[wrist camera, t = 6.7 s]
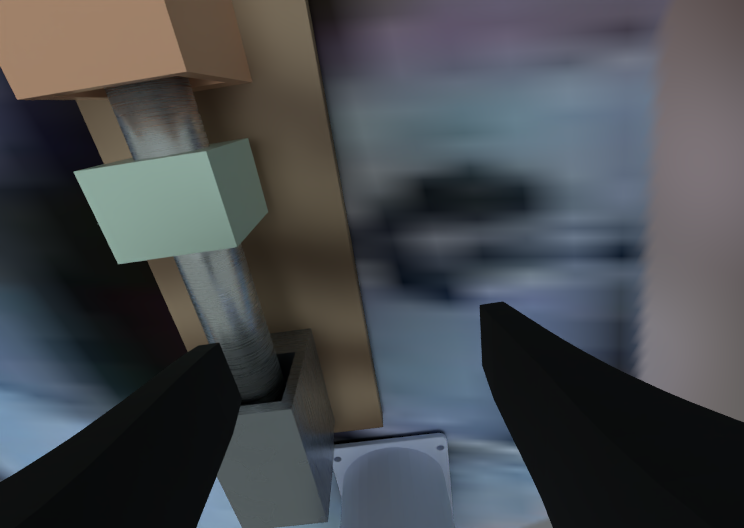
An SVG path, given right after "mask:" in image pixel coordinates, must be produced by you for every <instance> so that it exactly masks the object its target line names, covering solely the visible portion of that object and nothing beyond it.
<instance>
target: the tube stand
mask: <svg viewBox="0 0 744 528" xmlns="http://www.w3.org/2000/svg"><path fill="white" fill-rule="evenodd" d="M0 66H1V68H2V70H3V72H4V74H5V76H6V78H7V80H8V82H9V84H10V86H11V88H12V90H13V92H14V94H15V96H16V98H17V100H76V102H77V104H78V106H79V108H80V111H81V113H82V115H83V117H84V120H85V122H86V124H87V126H88V129H89V131H90V133H91V135H92V138H93V140H94V142H95V144H96V147H97V149H98V151H99V153H100V156H101V158H102V160H103V162H104V164H107V163H112V162H116V161H120V160H124V159H128V158H132V155H131V153H130V150H129V148H128V145H127V143H126V140H125V138H124V135H123V133H122V131H121V128H120V126H119V123H118V121H117V118H116V116H115V114H114V111H113V109H112V106H111V104H110V101H109V99H108V96H107V94H106V92H105V89H104V88H108V87H114V86H120V85H126V84H132V83H138V82H144V81H150V80H156V79H162V78H168V77H174V76H182V77H188V78H189V82H190V85H191V88H192V91H193V94H194V97H195V100H196V104H197V107H198V110H199V113H200V116H201V119H202V122H203V126H204V129H205V132H206V135H207V138H208V141H209V144H212V143H219V142H225V141H232V140H238V139H244V138H248V140H249V143H250V147H251V151H252V154H253V158H254V162H255V165H256V169H257V173H258V176H259V180H260V184H261V187H262V191H263V195H264V198H265V202H266V206H267V209H268V213H267V214H266V215H265V216H264V217H263V219H262V220H261V221H260V222H259V223H258V224H257V225H256V226H255V228H254V229H253V230H252V231H251V232H250V233H249V234H248V236H247V237H246V238H245V239H244V240H243V241H242V242H241V245H242V248H243V251H244V254H245V257H246V261H247V264H248V267H249V270H250V273H251V276H252V279H253V282H254V286H255V289H256V292H257V295H258V298H259V301H260V304H261V308H262V311H263V314H264V317H265V320H266V323H267V326H268V330H269V333H270V336H271V339H272V342H273V345H274V348H275V352H276V355H277V358H278V361H279V364H280V367H281V370H282V374H283V377H284V380H285V383H286V388H285V391H284V395H283V398H282V399H281V401H279V402H270V403H262V404H254V405H245V406H240V409H239V413H238V418H237V421H236V425H235V429H234V432H233V435H232V438H231V441H230V443H229V446H228V449H227V451H226V454H225V456H224V459H223V461H222V464H221V467H220V469H219V472H218V474H217V478H218V480H219V482H220V484H221V486H222V488H223V490H224V492H225V494H226V496H227V498H228V500H229V502H230V504H231V506H232V508H233V510H234V512H235V514H236V516H237V518H238V520H239V522H240V524H241V526H242V528H275V527H284V526H294V525H304V524H313V523H323V522H328V513H329V502H330V491H331V480H332V469H333V458H334V448H335V446H334V442H333V436H334V433H336V432H344V431H353V430H362V429H370V428H379V427H383V414H382V409H381V403H380V398H379V392H378V387H377V381H376V375H375V370H374V364H373V359H372V353H371V348H370V342H369V337H368V331H367V325H366V320H365V314H364V309H363V303H362V298H361V292H360V287H359V281H358V276H357V270H356V264H355V259H354V253H353V248H352V242H351V237H350V231H349V226H348V220H347V214H346V209H345V203H344V198H343V192H342V187H341V181H340V176H339V170H338V165H337V159H336V153H335V148H334V142H333V137H332V131H331V126H330V120H329V115H328V109H327V103H326V98H325V92H324V87H323V81H322V76H321V70H320V65H319V59H318V54H317V48H316V42H315V37H314V31H313V26H312V20H311V15H310V9H309V4H308V0H0ZM147 261H148V263H149V266H150V268H151V270H152V272H153V275H154V277H155V279H156V281H157V284H158V286H159V288H160V290H161V293H162V295H163V297H164V299H165V302H166V304H167V306H168V308H169V311H170V313H171V315H172V317H173V320H174V322H175V324H176V326H177V328H178V331H179V333H180V335H181V337H182V340H183V342H184V344H185V346H186V349H187V351H188V352H189V351H190V350H192V349H193V348H195V347H197V346H198V345H205V344H209V343H208V340H207V338H206V335H205V333H204V331H203V328H202V326H201V323H200V321H199V318H198V316H197V313H196V311H195V309H194V306H193V304H192V301H191V299H190V296H189V294H188V292H187V289H186V287H185V284H184V282H183V279H182V277H181V274H180V272H179V270H178V267H177V265H176V262H175V260H174V257H173V256H172V257H165V258H157V259H150V260H147Z"/></svg>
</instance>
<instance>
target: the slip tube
mask: <svg viewBox="0 0 744 528" xmlns="http://www.w3.org/2000/svg"><path fill="white" fill-rule="evenodd" d="M104 89H105V92H106V94H107V96H108V99H109V101H110V104H111V106H112V109H113V111H114V114H115V116H116V118H117V121H118V123H119V126H120V128H121V131H122V133H123V135H124V138H125V140H126V143H127V145H128V148H129V150H130V153H131V155H132V158H128V159H124V160H120V161H116V162H112V163H107V164H103V165H99V166H95V167H91V168H87V169H83V170H79V171H74V174H75V176H76V178H77V180H78V182H79V184H80V186H81V188H82V190H83V192H84V194H85V196H86V199H87V201H88V203H89V205H90V207H91V209H92V211H93V213H94V215H95V217H96V219H97V221H98V223H99V225H100V227H101V230H102V232H103V234H104V236H105V238H106V240H107V242H108V244H109V246H110V248H111V250H112V252H113V254H114V256H115V258H116V260H117V263H118V264H122V263H129V262H136V261H143V260H150V259H157V258H165V257H172V256H173V257H174V260H175V262H176V265H177V267H178V270H179V272H180V274H181V277H182V279H183V282H184V284H185V287H186V289H187V292H188V294H189V296H190V299H191V301H192V304H193V306H194V309H195V311H196V313H197V316H198V318H199V321H200V323H201V326H202V328H203V331H204V333H205V335H206V338H207V340H208V343H209V344H212V343H220V345H221V348H222V350H223V353H224V355H225V358H226V360H227V363H228V365H229V367H230V370H231V372H232V375H233V377H234V380H235V382H236V384H237V387H238V389H239V392H240V394H241V397H242V400H241V405H240V406H245V405H254V404H262V403H270V402H279V401H281V399H282V398H283V395H284V391H285V388H286V383H285V380H284V377H283V374H282V370H281V367H280V364H279V361H278V358H277V355H276V352H275V348H274V345H273V342H272V339H271V336H270V333H269V330H268V326H267V323H266V320H265V317H264V314H263V311H262V308H261V304H260V301H259V298H258V295H257V292H256V289H255V286H254V282H253V279H252V276H251V273H250V270H249V267H248V264H247V261H246V257H245V254H244V251H243V248H242V245H241V242H242V241H243V240H244V239H245V238H246V237H247V236H248V234H249V233H250V232H251V231H252V230H253V229H254V228H255V226H256V225H257V224H258V223H259V222H260V221H261V220H262V219H263V217H264V216H265V215H266V214H267V213H268V209H267V206H266V202H265V198H264V195H263V191H262V187H261V184H260V180H259V176H258V173H257V169H256V165H255V162H254V158H253V154H252V151H251V147H250V143H249V140H248V138H244V139H238V140H232V141H225V142H219V143H212V144H209V141H208V138H207V135H206V132H205V129H204V126H203V122H202V119H201V116H200V113H199V110H198V107H197V104H196V100H195V97H194V94H193V91H192V88H191V85H190V82H189V78H188V77H182V76H174V77H168V78H162V79H156V80H150V81H144V82H138V83H132V84H126V85H120V86H114V87H108V88H104Z"/></svg>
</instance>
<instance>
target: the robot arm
mask: <svg viewBox="0 0 744 528" xmlns="http://www.w3.org/2000/svg"><path fill="white" fill-rule="evenodd" d="M480 325H481V348H482V366H483V369H484V372H485V375H486V378H487V381H488V384H489V387H490V390H491V393H492V395H493V398H494V401H495V403H496V405H497V407H498V409H499V411H500V413H501V415H502V417H503V419H504V421H505V424H506V426H507V428H508V430H509V432H510V434H511V436H512V438H513V440H514V442H515V444H516V446H517V448H518V450H519V452H520V454H521V456H522V458H523V460H524V462H525V464H526V466H527V469H528V471H529V473H530V475H531V477H532V479H533V481H534V483H535V485H536V487H537V490H538V492H539V494H540V496H541V499H542V501H543V503H544V506H545V508H546V511H547V514H548V516H549V519H550V521H551V524H552V526H553V528H744V422H741V421H738V420H736V419H733V418H731V417H728V416H725V415H723V414H720V413H718V412H715V411H712V410H710V409H707V408H705V407H702V406H700V405H697V404H695V403H692V402H689V401H687V400H685V399H682V398H680V397H677V396H675V395H672V394H670V393H668V392H665V391H663V390H661V389H659V388H656V387H654V386H652V385H650V384H648V383H646V382H644V381H641V380H639V379H637V378H635V377H633V376H630V375H628V374H626V373H624V372H622V371H620V370H618V369H616V368H614V367H612V366H610V365H608V364H606V363H604V362H603V361H601V360H599V359H597V358H595V357H593V356H591V355H590V354H588V353H586V352H584V351H582V350H580V349H579V348H577V347H575V346H573V345H572V344H570V343H568V342H567V341H565V340H563V339H561V338H560V337H558V336H557V335H555V334H553V333H552V332H550V331H548V330H547V329H545V328H544V327H542V326H540V325H539V324H537V323H536V322H534V321H533V320H531V319H529V318H528V317H526V316H525V315H523V314H522V313H520V312H519V311H517V310H516V309H514V308H512V307H511V306H509V305H508V304H506V303H504V302H497V303H490V304H483V305H480ZM241 400H242V397H241V394H240V392H239V389H238V387H237V384H236V382H235V380H234V377H233V375H232V372H231V370H230V367H229V365H228V363H227V360H226V358H225V355H224V353H223V350H222V348H221V345H220V343H212V344H205V345H198V346H197V347H195V348H193V349H192V350H190V351H189V352H187V353H186V354H184V355H183V356H182V357H180V358H179V359H177V360H176V361H175V362H173V363H172V364H171V365H169V366H168V367H167V368H165V369H164V370H163V371H161V372H160V373H159V374H157V375H156V376H155V377H153V378H152V379H151V380H150V381H148V382H147V383H146V384H144V385H143V386H142V387H140V388H139V389H138V390H136V391H135V392H134V393H132V394H131V395H130V396H128V397H127V398H126V399H124V400H123V401H122V402H120V403H119V404H118V405H116V406H115V407H113V408H112V409H111V410H109V411H108V412H106V413H105V414H104V415H102V416H101V417H99V418H98V419H97V420H95V421H94V422H93V423H91V424H90V425H88V426H87V427H86V428H84V429H83V430H81V431H80V432H78V433H77V434H76V435H74V436H73V437H71V438H70V439H68V440H67V441H65V442H64V443H62V444H61V445H59V446H58V447H56V448H55V449H53V450H52V451H50V452H48V453H47V454H45V455H44V456H42V457H41V458H39V459H37V460H36V461H34V462H33V463H31V464H29V465H28V466H26V467H25V468H23V469H22V470H20V471H18V472H17V473H15V474H13V475H12V476H10V477H8V478H7V479H5V480H3V481H1V482H0V528H196V527H197V524H198V522H199V519H200V517H201V514H202V512H203V509H204V507H205V504H206V502H207V499H208V497H209V494H210V492H211V489H212V487H213V484H214V482H215V479H216V477H217V474H218V472H219V469H220V467H221V464H222V461H223V459H224V456H225V454H226V451H227V449H228V446H229V443H230V441H231V438H232V435H233V432H234V429H235V425H236V421H237V418H238V413H239V409H240V405H241ZM334 446H335V448H334V458H333V470H334V474H335V477H336V481H337V484H338V488H339V491H340V495H341V498H342V508H341V525H340V528H455V525H454V520H453V519H454V518H453V506H452V494H451V481H450V469H449V456H448V444H447V438H446V435H445V434H443V433H433V434H424V435H415V436H407V437H398V438H389V439H380V440H372V441H363V442H354V443H345V444H336V445H334Z"/></svg>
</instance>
